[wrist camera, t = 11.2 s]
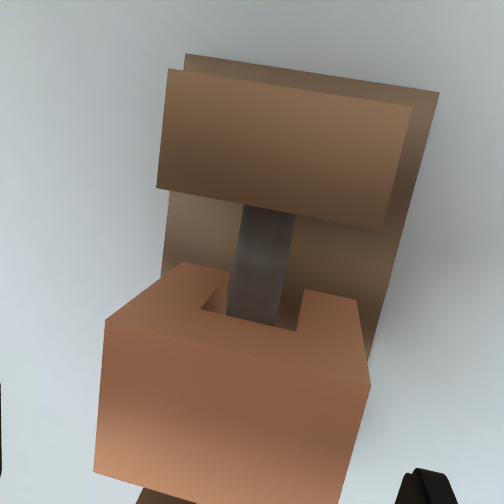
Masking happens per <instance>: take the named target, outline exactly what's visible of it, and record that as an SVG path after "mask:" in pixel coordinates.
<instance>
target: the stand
mask: <svg viewBox="0 0 504 504" xmlns="http://www.w3.org/2000/svg"><path fill="white" fill-rule="evenodd" d="M439 93H440V92H433V91H427V90H420V89H414V88H407V87H401V86H394V85H388V84H381V83H375V82H368V81H362V80H355V79H349V78H342V77H336V76H329V75H323V74H316V73H309V72H303V71H296V70H290V69H283V68H277V67H270V66H264V65H257V64H251V63H244V62H238V61H231V60H225V59H218V58H212V57H205V56H199V55H192V54H186V53H185V61H184V70H183V71H181V70H175V69H169V68H168V77H167V87H166V97H165V106H164V116H163V126H162V136H161V146H160V156H159V165H158V175H157V185H156V188H159V189H164V190H170V197H169V206H168V215H167V224H166V233H165V242H164V251H163V260H162V269H161V277H163V276H164V275H165V274H167V273H168V272H169V271H171V270H172V269H173V268H175V267H176V266H177V265H179V264H180V263H181V262H187V263H191V264H196V265H200V266H205V267H209V268H214V269H218V270H223V271H227V272H230V277H229V283H228V289H227V295H226V301H225V307H224V314H223V315H227V316H231V317H235V318H240V319H244V320H248V321H252V322H257V323H261V324H265V325H269V326H274V327H278V328H282V329H286V330H290V331H296V327H297V322H298V317H299V313H300V308H301V303H302V299H303V294H304V289H309V290H313V291H318V292H322V293H327V294H331V295H336V296H340V297H345V298H349V299H354V300H356V301H357V307H358V312H359V318H360V324H361V330H362V336H363V342H364V348H365V354H366V360H367V361H368V357H369V353H370V350H371V346H372V342H373V338H374V335H375V331H376V327H377V323H378V320H379V316H380V312H381V309H382V305H383V301H384V297H385V294H386V290H387V286H388V283H389V279H390V275H391V271H392V268H393V264H394V260H395V257H396V253H397V249H398V245H399V242H400V238H401V234H402V230H403V227H404V223H405V219H406V216H407V212H408V208H409V204H410V201H411V197H412V193H413V190H414V186H415V182H416V178H417V175H418V171H419V167H420V163H421V160H422V156H423V152H424V149H425V145H426V141H427V137H428V134H429V130H430V126H431V123H432V119H433V115H434V111H435V108H436V104H437V100H438V96H439ZM136 504H198V503H194V502H191V501H188V500H184V499H181V498H178V497H174V496H171V495H168V494H164V493H161V492H158V491H155V490H151V489H148V488H145V487H144V488H143V490H142V492H141V494H140V496H139V498H138V500H137V502H136Z"/></svg>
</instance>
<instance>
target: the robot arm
mask: <svg viewBox="0 0 504 504" xmlns="http://www.w3.org/2000/svg"><path fill="white" fill-rule="evenodd" d="M1 472H2V448H1V384H0V476H1ZM395 504H458V502H457V500H456V497H455V495H454V493H453V490H452V488H451V485H450V483H449V480H448V478H447V477H446V475H444V474H442V473H438V472H434V471H429V470H425V469H421V468H416V469H415V470H414V471H413V473H412V474H410V473H406V474H405V475H404V477H403V480H402V483H401V486H400V489H399V492H398V495H397V498H396V501H395Z"/></svg>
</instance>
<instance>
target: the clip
mask: <svg viewBox="0 0 504 504" xmlns="http://www.w3.org/2000/svg"><path fill="white" fill-rule="evenodd" d="M229 277H230V272H227V271H223V270H218V269H214V268H209V267H205V266H200V265H196V264H191V263H187V262H181V263H180V264H179V265H177V266H176V267H175V268H173V269H172V270H171V271H169V272H168V273H167V274H165V275H164V276H163V277H161V278H160V279H159V280H157V281H156V282H155V283H153V284H152V285H151V286H150V287H148V288H147V289H146V290H144V291H143V292H142V293H140V294H139V295H138V296H136V297H135V298H134V299H132V300H131V301H130V302H128V303H127V304H126V305H124V306H123V307H122V308H120V309H119V310H118V311H116V312H115V313H114V314H112V315H111V316H110V317H108V318H107V319H106V320H105V330H104V343H103V356H102V368H101V381H100V394H99V406H98V419H97V432H96V444H95V457H94V470H93V472H95V473H98V474H102V475H105V476H108V477H112V478H115V479H118V480H121V481H125V482H128V483H131V484H135V485H138V486H141V487H145V488H148V489H151V490H155V491H158V492H161V493H164V494H168V495H171V496H174V497H178V498H181V499H184V500H188V501H191V502H194V503H198V504H338V501H339V498H340V494H341V491H342V487H343V483H344V480H345V476H346V473H347V469H348V466H349V462H350V458H351V455H352V451H353V448H354V444H355V441H356V437H357V434H358V430H359V426H360V423H361V419H362V416H363V412H364V409H365V405H366V401H367V398H368V394H369V391H370V387H371V383H370V377H369V371H368V365H367V360H366V354H365V348H364V342H363V336H362V330H361V324H360V318H359V312H358V307H357V301H356V300H354V299H349V298H345V297H340V296H336V295H331V294H327V293H322V292H318V291H313V290H309V289H304V294H303V299H302V303H301V308H300V313H299V317H298V322H297V327H296V331H290V330H286V329H282V328H278V327H274V326H269V325H265V324H261V323H257V322H252V321H248V320H244V319H240V318H235V317H231V316H227V315H223V314H224V307H225V301H226V295H227V289H228V283H229Z"/></svg>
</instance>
